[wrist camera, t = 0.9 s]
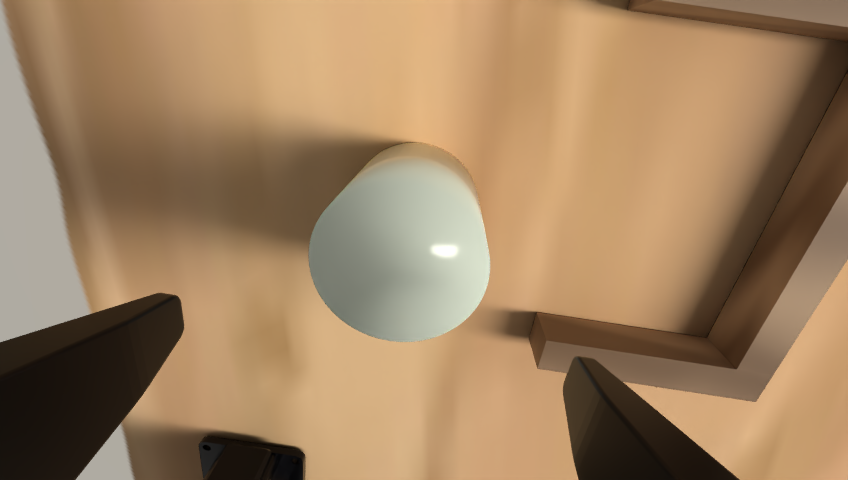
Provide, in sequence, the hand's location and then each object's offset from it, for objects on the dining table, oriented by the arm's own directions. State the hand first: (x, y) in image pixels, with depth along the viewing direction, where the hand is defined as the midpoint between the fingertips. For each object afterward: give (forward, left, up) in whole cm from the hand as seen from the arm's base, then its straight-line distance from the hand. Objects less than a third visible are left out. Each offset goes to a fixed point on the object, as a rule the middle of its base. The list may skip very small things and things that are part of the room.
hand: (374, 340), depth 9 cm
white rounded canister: (0, 0, -10) cm, 10 cm away
